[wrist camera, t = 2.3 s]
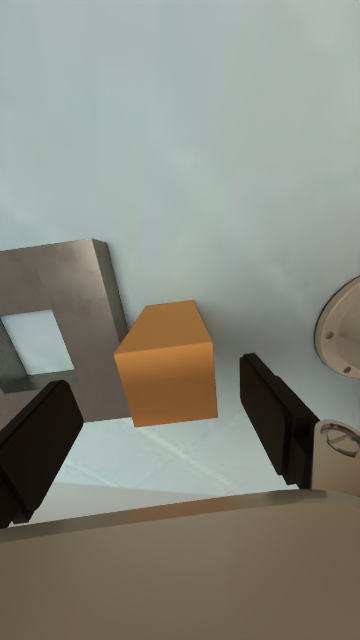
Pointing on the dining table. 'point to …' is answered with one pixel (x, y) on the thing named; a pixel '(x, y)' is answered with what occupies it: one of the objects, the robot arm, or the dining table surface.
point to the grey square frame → (65, 325)
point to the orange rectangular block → (168, 366)
